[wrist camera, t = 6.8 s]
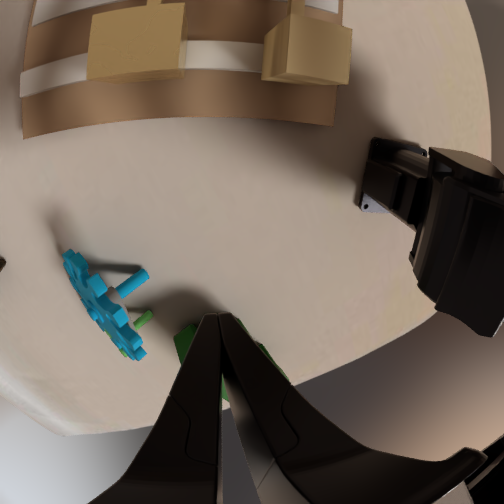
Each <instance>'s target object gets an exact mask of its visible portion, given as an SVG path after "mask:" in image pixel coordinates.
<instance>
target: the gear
mask: <svg viewBox="0 0 504 504" xmlns="http://www.w3.org/2000/svg"><path fill="white" fill-rule="evenodd" d="M62 256H63V259H64V260H65V262H64V263H63V266H64V268H65V269H66V271H67V273H68V274H69V275H70V278H69V279H70V282H71V284H72V286H73V287H74V289H75V290H76V291H77V292H78V293H79V294H80V296H81V297H82V298H81V301H82V303H83V304H84V306H85V308H86V309H87V312H88V314H89V315H90V317H91V318H92V319H93V320H94V321H96V323H97V324H98V325H99V327H100V328H101V329H102V331H105V332H106V333H107V334H108V336H109V337H110V339H111V340H112V342H113V343H114V344H115V345H116V346H117V347H118V348H119V351H120V352H121V353H122V354H123V355H124V356H125V357H127V356H128V357H129V358H131V359H132V360H135V359H136V360H137V361H140V360H141V359H142V358H143V357H144V356H145V355H146V354H147V353H146V352H145V351H144V349H143V348H142V347H141V346H140V345H142V344H143V341H142V339H141V337H140V336H139V335H138V333H137V330H138V329H139V328H140V327H141V326H142V325H144V324H145V323H146V322H147V321H148V320H150V319H151V318H152V317H153V314H152V313H151V311H149V310H148V311H147V312H145V313H144V314H143V315H142V316H141V317H139V318H138V319H137V320H136V321H135V322H132V320H131V318H130V316H129V313H128V311H127V309H126V307H125V304H124V302H123V300H122V299H123V298H124V297H126V296H127V295H128V294H129V293H131V292H132V291H133V290H135V289H136V288H137V287H139V286H140V285H141V284H142V283H144V282H145V281H146V280H148V279H149V275H148V273H147V272H146V271H145V270H144V269H141V270H139V271H138V272H136V273H135V274H134V275H132V276H131V277H130V278H128V279H127V280H125V281H124V282H123V283H121V284H120V285H119V286H117V287H116V288H114V287H112V286H111V287H110V288H108V289H107V287H106V285H105V283H104V282H103V280H102V279H101V278H100V276H99V275H98V273H96V274H94V275H93V276H91V277H90V275H89V274H88V271H87V269H89V267H88V264H87V262H86V260H85V259H84V258H83V256H82V255H81V254H80V253H79V252H78V253H77V254H75V252H74V251H73V250H71V249H70V250H68V251H67V252H65V253H64V254H62Z"/></svg>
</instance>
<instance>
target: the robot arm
mask: <svg viewBox="0 0 504 504" xmlns="http://www.w3.org/2000/svg"><path fill="white" fill-rule="evenodd" d="M377 141H378V145H377V146H376V142H377ZM422 153H423V155H422ZM428 155H430V156H429V158H427V151H426V150H425V149H422V148H419V147H415V146H412V145H408V144H404V143H400V142H396V141H392V140H387V139H383V138H378V137H374V138H373V139H372V140H371V144H370V150H369V156H368V161H367V164H366V170H365V175H364V180H363V185H362V193H361V198H360V202H359V208H360V209H361V210H362V211H363V212H376V213H391V214H393V215H394V216H395V217H397V218H398V219H399V220H401V221H402V222H403V223H405V224H406V225H407V226H409V227H410V228H411V229H412V230H414V231H415V232H416V236H415V240H414V244H413V248H412V251H411V252H410V254H409V260H410V262H411V264H412V266H413V272H414V274H415V276H416V278H417V280H418V283H417V286H418V288H419V289H420V290H421V291H422V292H423V293H424V294H425V295H426V296H427V297H428V298H429V299H430V300H432V301H433V302H434V303H436V305H435V307H434V308H435V310H437V311H440V312H443V313H447V314H450V315H451V316H454V317H455V318H457V319H459V320H461V321H462V322H463V323H465V324H466V325H467V326H468V327H470V328H471V329H472V330H473V331H475V332H476V333H477V334H478V335H481V336H486V337H494V336H495V334H496V332H497V331H498V329H499V328H500V326H501V324H502V323H504V174H503V173H501V171H500V170H499V169H498V168H497V167H496V166H494V165H493V164H492V163H491V162H490V161H489V160H486V159H484V158H481V157H478V156H476V155H473V154H470V153H467V152H463V151H456V150H450V149H442V148H435V147H429V152H428ZM365 204H366V206H365V207H364V205H365ZM222 376H223V381H224V385H225V389H226V392H227V396H228V400H229V403H230V407H231V410H232V414H233V417H234V421H235V424H236V428H237V431H238V434H239V437H240V440H241V444H242V447H243V450H244V453H245V457H246V460H247V463H248V466H249V469H250V472H251V475H252V478H253V481H254V484H255V487H256V489H257V492H258V495H259V498H260V501H261V503H262V504H504V434H503V435H502V436H500V437H499V438H498V439H497V440H495V441H494V442H493V443H491V444H490V445H489V446H488V447H486V448H484V449H483V450H482V451H479V450H476V449H472V448H469V447H464V448H462V449H461V450H459V451H458V452H456V453H455V454H453V455H452V456H450V457H449V458H447V459H446V460H443V461H425V460H419V459H414V458H409V457H404V456H399V455H394V454H390V453H386V452H382V451H378V450H374V449H371V448H369V447H366V446H364V445H362V444H361V443H359V442H357V441H356V440H355V439H353V438H352V437H351V436H349V435H348V434H347V433H345V432H344V431H343V430H341V429H340V428H339V427H338V426H336V425H335V424H334V423H333V422H331V421H330V420H329V419H328V418H326V417H325V416H323V414H322V413H320V412H319V411H318V410H317V409H316V408H315V407H313V406H312V405H311V404H310V403H309V402H308V401H307V400H306V399H305V398H304V397H303V396H302V395H301V394H300V392H299V391H298V390H297V389H296V388H295V387H294V386H293V385H291V383H290V382H289V380H288V379H287V378H286V377H285V376H284V375H283V374H282V373H281V371H280V370H279V369H278V368H277V367H276V366H275V365H274V363H273V362H272V361H271V360H270V359H269V358H268V357H267V355H266V354H265V353H264V352H263V351H262V350H261V348H260V347H259V346H258V345H257V344H256V343H255V341H254V340H253V339H252V338H251V337H250V335H249V334H248V333H247V332H246V331H245V329H244V328H243V327H242V326H241V325H240V323H239V322H238V321H237V320H236V318H235V317H234V316H233V315H232V314H231V313H229V312H228V313H219V314H218V316H217V314H216V313H209V314H204V315H203V317H202V320H201V322H200V324H199V326H198V329H197V331H196V333H195V335H194V338H193V340H192V342H191V344H190V347H189V349H188V351H187V354H186V356H185V358H184V360H183V363H182V365H181V367H180V370H179V372H178V374H177V376H176V379H175V381H174V383H173V386H172V388H171V390H170V393H169V396H168V397H167V399H166V402H165V404H164V406H163V408H162V411H161V413H160V415H159V417H158V419H157V421H156V423H155V425H154V426H153V428H152V430H151V432H150V434H149V435H148V437H147V438H146V440H145V442H144V443H143V445H142V446H141V448H140V450H139V451H138V453H137V455H136V456H135V458H134V460H133V461H132V463H131V464H130V466H129V467H128V469H127V471H126V472H125V473H124V474H123V476H122V477H121V478H120V479H119V480H118V481H117V482H116V483H114V484H113V485H112V486H111V487H109V488H108V489H107V490H105V491H104V492H103V493H101V494H100V495H99V496H97V497H96V498H95V499H93V500H92V501H90V502H89V503H88V504H223V497H222Z"/></svg>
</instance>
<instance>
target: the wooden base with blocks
mask: <svg viewBox="0 0 504 504" xmlns="http://www.w3.org/2000/svg"><path fill="white" fill-rule="evenodd" d="M168 3H185V9H186V16H187V24H188V38H187V49H186V62H185V77H184V79H170V80H154V81H143V82H133V83H124V84H112V83H106V82H99V81H92V80H86V73H87V58H88V47H89V38H90V30H91V23H92V17H93V15H94V14H99V13H103V12H108V11H113V10H119V9H124V8H131V7H138V6H146V5H147V0H34V4H33V8H32V12H31V17H30V22H29V27H28V33H27V39H26V47H25V55H24V65H23V72H22V73H21V74H20V97H22V128H23V139H27V138H31V137H35V136H39V135H43V134H48V133H52V132H57V131H62V130H67V129H72V128H78V127H83V126H90V125H96V124H103V123H111V122H119V121H129V120H139V119H152V118H170V117H242V118H260V119H273V120H284V121H294V122H303V123H311V124H318V125H325V126H332V127H333V124H334V116H335V107H336V98H337V88H338V85H347V84H348V82H349V71H350V59H351V43H352V29H350V28H347V27H344V26H342V16H343V0H164V1H163V4H168Z"/></svg>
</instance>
